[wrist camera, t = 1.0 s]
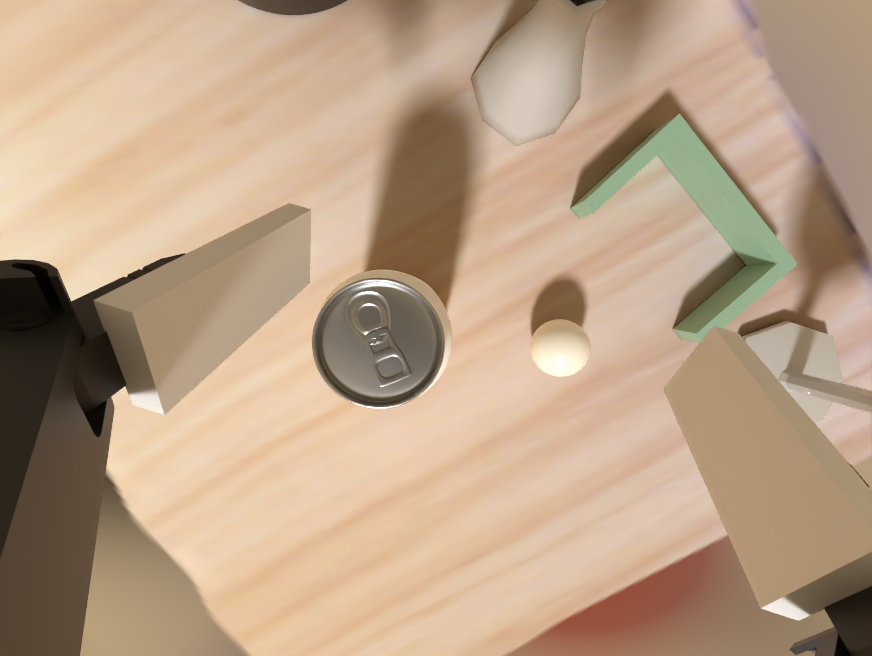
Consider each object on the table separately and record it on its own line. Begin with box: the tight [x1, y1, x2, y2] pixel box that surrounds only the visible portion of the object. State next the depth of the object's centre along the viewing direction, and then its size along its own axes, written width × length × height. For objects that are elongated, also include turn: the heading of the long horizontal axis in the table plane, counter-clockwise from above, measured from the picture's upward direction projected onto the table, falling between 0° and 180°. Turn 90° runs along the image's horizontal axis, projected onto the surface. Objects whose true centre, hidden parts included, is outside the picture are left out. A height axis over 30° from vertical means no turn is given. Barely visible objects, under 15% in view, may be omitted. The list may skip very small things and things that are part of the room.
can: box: [312, 270, 452, 409], centre depth 22 cm, size 6×6×12 cm
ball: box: [530, 319, 591, 377], centre depth 26 cm, size 4×4×4 cm
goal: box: [570, 113, 797, 343], centre depth 26 cm, size 8×13×2 cm, turn 43°
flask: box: [471, 0, 607, 146], centre depth 21 cm, size 7×7×10 cm
